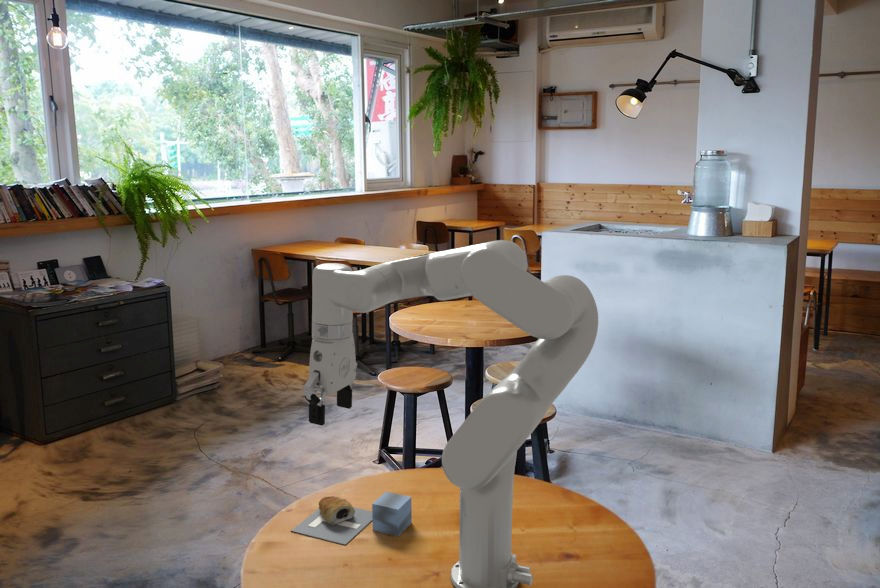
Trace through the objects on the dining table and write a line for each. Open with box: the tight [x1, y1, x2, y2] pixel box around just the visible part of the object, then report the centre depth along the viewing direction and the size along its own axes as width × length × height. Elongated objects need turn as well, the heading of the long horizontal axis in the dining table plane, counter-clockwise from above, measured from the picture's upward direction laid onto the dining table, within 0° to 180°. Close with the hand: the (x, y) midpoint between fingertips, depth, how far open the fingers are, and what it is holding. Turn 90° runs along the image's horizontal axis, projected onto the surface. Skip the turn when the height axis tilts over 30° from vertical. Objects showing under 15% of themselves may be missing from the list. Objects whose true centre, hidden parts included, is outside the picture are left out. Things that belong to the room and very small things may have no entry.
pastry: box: [318, 495, 355, 525], centre depth 164 cm, size 9×7×4 cm
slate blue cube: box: [371, 491, 413, 537], centre depth 159 cm, size 6×6×6 cm
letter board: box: [290, 507, 373, 546], centre depth 161 cm, size 13×14×1 cm
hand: (330, 415), depth 147 cm, fingers open, 9 cm apart
